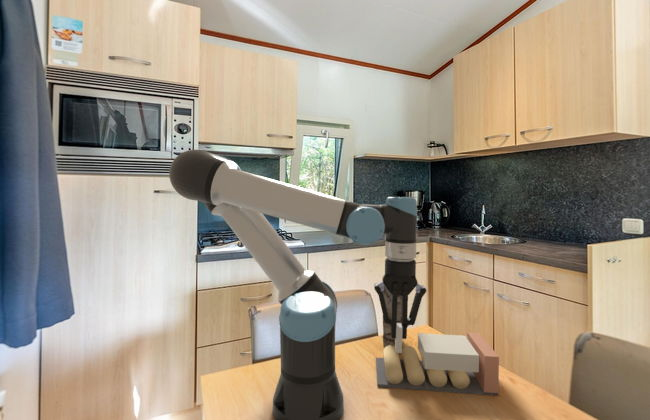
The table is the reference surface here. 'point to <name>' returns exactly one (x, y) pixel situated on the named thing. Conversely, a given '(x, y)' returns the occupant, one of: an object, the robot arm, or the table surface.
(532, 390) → the table surface
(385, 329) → the stone block
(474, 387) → the roller bed
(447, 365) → the slab
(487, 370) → the stop block
